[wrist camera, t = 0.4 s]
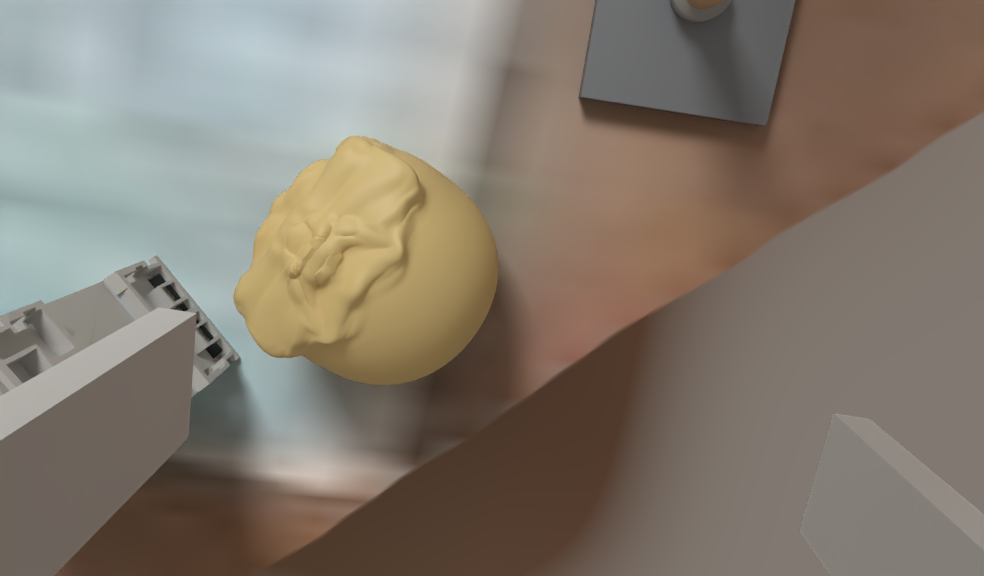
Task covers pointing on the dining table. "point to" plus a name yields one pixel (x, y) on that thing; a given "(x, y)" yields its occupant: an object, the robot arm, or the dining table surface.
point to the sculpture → (370, 267)
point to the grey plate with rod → (688, 56)
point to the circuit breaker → (100, 325)
